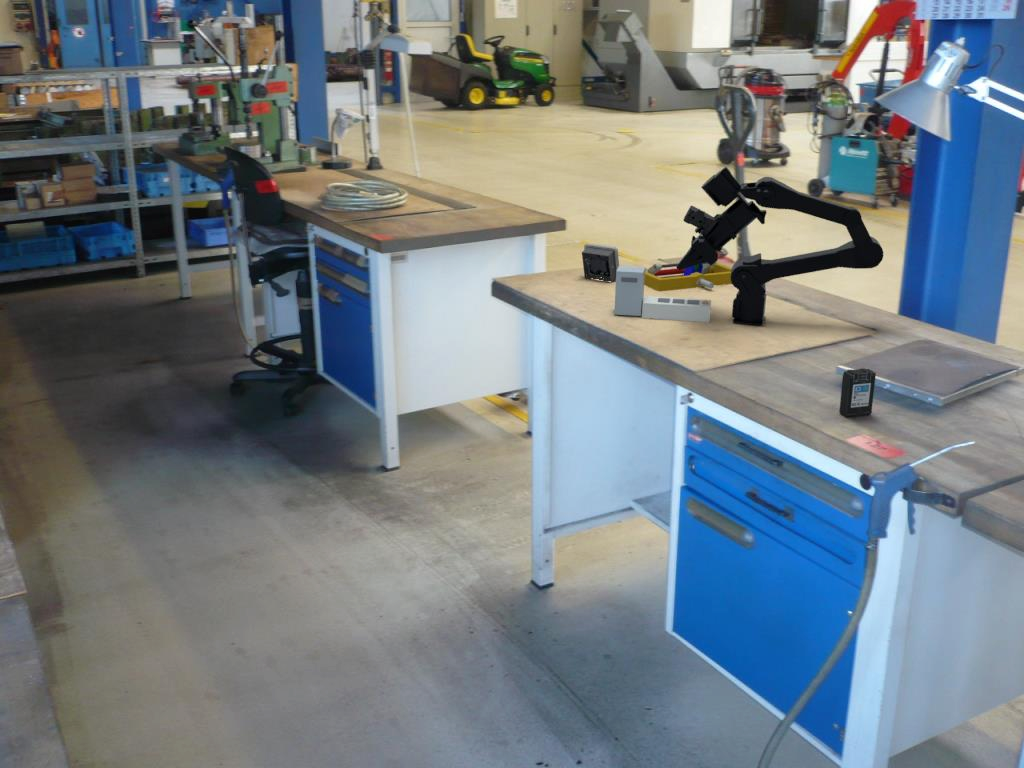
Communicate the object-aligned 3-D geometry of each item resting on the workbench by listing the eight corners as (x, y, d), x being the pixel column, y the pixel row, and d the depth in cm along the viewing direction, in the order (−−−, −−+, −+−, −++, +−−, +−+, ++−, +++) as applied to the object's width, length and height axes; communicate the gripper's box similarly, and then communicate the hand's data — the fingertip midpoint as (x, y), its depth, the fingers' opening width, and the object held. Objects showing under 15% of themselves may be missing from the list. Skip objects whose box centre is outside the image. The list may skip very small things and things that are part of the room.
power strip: (711, 303, 253) (712, 288, 252) (709, 322, 237) (710, 306, 236) (647, 299, 256) (648, 284, 254) (641, 318, 240) (642, 301, 239)
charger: (652, 310, 245) (654, 267, 242) (650, 316, 240) (653, 273, 237) (616, 308, 247) (618, 265, 243) (614, 314, 242) (616, 271, 238)
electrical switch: (620, 280, 274) (620, 245, 270) (611, 286, 270) (611, 251, 266) (588, 275, 279) (588, 241, 275) (579, 281, 275) (578, 246, 271)
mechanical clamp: (617, 258, 272) (715, 249, 284) (616, 282, 274) (713, 272, 286) (655, 274, 256) (757, 264, 268) (653, 299, 258) (755, 288, 270)
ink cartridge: (845, 418, 182) (850, 374, 180) (838, 413, 184) (843, 370, 182) (871, 415, 183) (876, 371, 181) (864, 411, 186) (868, 367, 183)
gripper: (708, 188, 240) (656, 233, 246) (706, 201, 223) (650, 250, 229) (741, 224, 242) (688, 269, 247) (741, 240, 224) (684, 288, 230)
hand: (677, 268), depth 238 cm, fingers closed
